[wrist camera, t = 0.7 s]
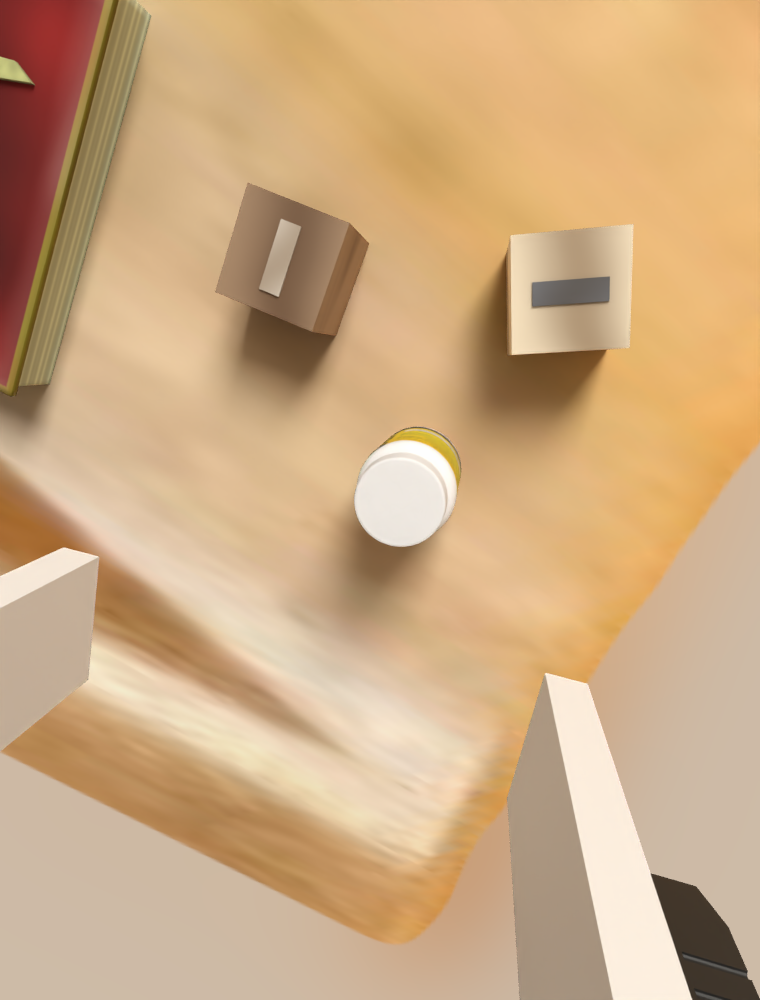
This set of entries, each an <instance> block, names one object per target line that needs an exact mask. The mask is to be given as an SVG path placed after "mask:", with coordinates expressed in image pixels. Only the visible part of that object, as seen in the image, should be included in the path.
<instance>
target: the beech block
mask: <svg viewBox="0 0 760 1000" xmlns="http://www.w3.org/2000/svg"><path fill="white" fill-rule="evenodd" d="M632 253H633V224H630V225H619V226H608V227H597V228H586V229H575V230H564V231H553V232H542V233H531V234H520V235H511V236H510V240H509V244H508V248H507V253H506V287H507V355H523V354H540V353H557V352H574V351H591V350H608V349H621V348H630V320H631V286H632Z"/></svg>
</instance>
